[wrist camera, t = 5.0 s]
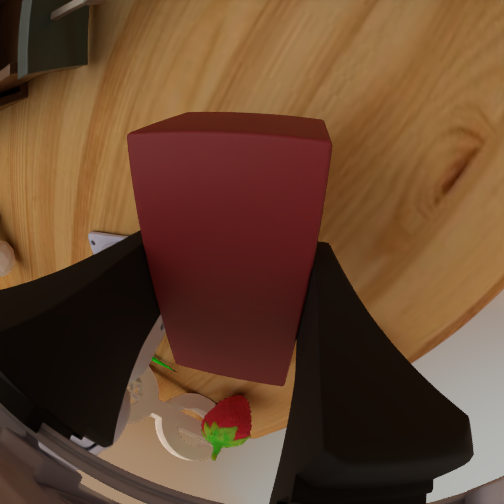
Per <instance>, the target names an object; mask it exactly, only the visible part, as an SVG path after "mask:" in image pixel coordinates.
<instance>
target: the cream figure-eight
mask: <svg viewBox="0 0 504 504" xmlns="http://www.w3.org/2000/svg"><path fill="white" fill-rule="evenodd" d="M127 386H129V388H127V389H128V391H129V394H130V398H133V399H134V400H136V401H135V402H134V403H133V404H131V410H130V415H129V419H128V422H127V424H132V423H137V422H140V421H143V420H144V419H146V418H147V417H149V416H151V417H153V418H155V427H156V432H157V436H158V437H159V440H160V442H161V443H162V445H163V446H164V447H165V448H166V449H167V450H168V451H169V452H170V453H171V454H173V455H175V456H177V457H179V458H181V459H184V460H192V461H204V460H208V459H211V458H212V457H211V455H212V452H213V447H212V446H213V445H212V444H211V443H210V442H208V441H207V440H206V439H205V438H204V437H203V435H202V432H201V429H202V426H201V424H202V422H201V421H199V420H197V419H195V418H193V417H191V416H189V415H187V414H185V413H183V412H181V410H191V411H194V412H196V413H197V414H199V415H200V416H201V417H202V418H203V419H204V417H205V415H206V414H207V413H208V411H210V410H211V409H213V408H214V407H215V405H216V404H215V403H214V402H213V401H211V400H210V399H208V398H206V397H204V396H202V395H200V394H194V393H186V394H182V395H179V396H176V397H173V398H170V399H168V400H167V401H165V402H163V401H161V400H160V399H159V388H158V383H157V380H156V377H155V375H154V373H153V371H152V370H151V368H150V367H149V366H148V368H147V369H146V371H145V372H144V373H143V374H142V375H141V376H140V377H139V378H137V379H136V380H134V381H132V382H130V383H128V385H127ZM136 387H137V389H138V394H137V393H135V392H134V391H135V389H136ZM130 403H131V402H130ZM179 431H180V432H183V433H185V434H187V435H189V436H191V437H193V438H195V439H198V440H200V441H202V442H205V443H207V444H209V445H197V446H193V445H190V444H188V443H187V442H185V441H184V440H183V439H182V437H181V436H180V434H179ZM210 445H212V446H210ZM220 452H221V450H220ZM220 452H219V453H220ZM219 453H218V454H219Z"/></svg>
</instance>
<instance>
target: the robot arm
mask: <svg viewBox="0 0 504 504" xmlns="http://www.w3.org/2000/svg"><path fill="white" fill-rule="evenodd" d="M88 238H89V242H90V245H91V248H92V251H93V254H94V255H92V256H90V257H88V258H86V259H84V260H82V261H80V262H78V263H76V264H74V265H71V266H69V267H67V268H65V269H62V270H60V271H58V272H55V273H52V274H50V275H47V276H44V277H41V278H39V279H36V280H33V281H30V282H27V283H24V284H21V285H17V286H14V287H10V288H6V289H2V290H0V504H120V503H118V502H115V501H114V500H111V499H109V498H107V497H105V496H103V495H101V494H99V493H97V492H95V491H93V490H92V489H90V488H88V487H86V486H84V485H82V484H81V483H80V482H81V479H82V476H81V474H79V473H78V472H77V471H76V470H81V471H83V472H85V473H86V474H88V475H90V476H91V477H93V478H95V479H97V480H99V481H100V482H102V483H104V484H106V485H108V486H110V487H112V488H114V489H116V490H118V491H120V492H122V493H124V494H126V495H128V496H131V497H133V498H135V499H137V500H140V501H142V502H145V503H147V504H223V503H218V502H214V501H210V500H206V499H203V498H199V497H195V496H192V495H189V494H185V493H182V492H179V491H176V490H173V489H170V488H167V487H164V486H162V485H159V484H156V483H154V482H151V481H149V480H146V479H143V478H141V477H139V476H136V475H134V474H132V473H130V472H127V471H125V470H123V469H121V468H119V467H117V466H115V465H113V464H111V463H109V462H107V461H105V460H103V459H101V458H99V457H97V455H98V454H99V453H101V452H102V451H105V450H107V449H108V448H110V447H111V446H112V445H113V444H114V443H115V442H116V441H117V440H118V438H119V437H120V435H121V434H122V432H123V430H124V429H125V426H126V424H127V422H128V419H129V415H130V410H131V403H130V394H129V391H128V389H127V385H128V383H130V382H132V381H134V380H136V379H137V378H139V377H140V376H141V375H142V374H143V373H144V372H145V371H146V369H147V368H148V366H149V364H150V362H151V360H152V358H153V356H154V354H155V352H156V350H157V348H158V346H159V344H160V342H161V340H162V338H163V336H164V335H165V333H166V330H165V327H164V324H163V320H162V317H161V313H160V310H159V306H158V303H157V299H156V295H155V291H154V287H153V283H152V279H151V275H150V271H149V267H148V262H147V258H146V254H145V249H144V244H143V239H142V235H141V230H140V231H138V232H136V233H134V234H132V235H130V236H123V235H116V234H108V233H101V232H94V231H91V232H90V233H89V234H88ZM473 454H474V453H473V443H472V436H471V428H470V422H469V417H468V415H466V414H465V413H464V412H463V411H462V410H460V409H459V408H458V407H457V406H456V405H454V404H453V403H452V402H451V401H450V400H448V399H447V398H446V397H445V396H444V395H442V394H441V393H440V392H439V391H438V390H437V389H436V388H435V387H434V386H433V385H431V383H429V382H428V381H427V380H426V379H425V378H424V377H423V376H422V375H421V374H420V373H419V372H418V371H417V370H416V369H415V368H414V367H413V366H412V365H411V364H410V363H409V361H408V360H407V359H406V358H405V357H404V356H403V355H402V354H401V352H400V351H399V350H398V349H397V348H396V347H395V346H394V345H393V343H392V342H391V341H390V340H389V339H388V337H387V336H386V335H385V334H384V332H383V331H382V330H381V329H380V327H379V326H378V325H377V323H376V322H375V321H374V319H373V318H372V317H371V315H370V314H369V312H368V311H367V309H366V308H365V306H364V305H363V303H362V302H361V300H360V299H359V297H358V295H357V294H356V292H355V291H354V289H353V287H352V285H351V284H350V282H349V280H348V279H347V277H346V275H345V273H344V272H343V270H342V268H341V266H340V264H339V262H338V260H337V258H336V256H335V254H334V252H333V250H332V248H331V246H330V245H329V243H326V242H319V241H317V247H316V252H315V257H314V262H313V267H312V272H311V277H310V282H309V287H308V291H307V296H306V300H305V305H304V309H303V314H302V318H301V322H300V326H299V330H298V335H297V345H296V371H295V382H294V389H293V396H292V402H291V408H290V413H289V419H288V424H287V430H286V434H285V439H284V444H283V449H282V454H281V458H280V462H279V467H278V471H277V475H276V479H275V483H274V487H273V490H272V494H271V498H270V503H269V504H504V476H502V477H500V478H498V479H495V480H493V481H491V482H488V483H486V484H483V485H481V486H479V487H476V488H473V489H471V490H468V491H467V492H464V493H462V494H458V495H455V496H452V497H448V498H445V499H441V500H438V501H435V502H431V503H426V494H427V493H430V492H432V490H433V479H435V478H437V477H439V476H442V475H444V474H446V473H449V472H451V471H453V470H455V469H457V468H459V467H461V466H463V465H465V464H466V463H467V462H469V461H470V459H471V458H472V456H473Z"/></svg>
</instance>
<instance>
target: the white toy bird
mask: <svg viewBox="0 0 504 504" xmlns="http://www.w3.org/2000/svg"><path fill="white" fill-rule="evenodd" d="M14 263H15V256H14V250H13V248H12V247H11V246H10V245H9V244H8V242H5V241H0V276H2V277H3V276H5V275H7V274H8V273H9V272H10V271H11V270H12V269H13V267H14Z"/></svg>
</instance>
